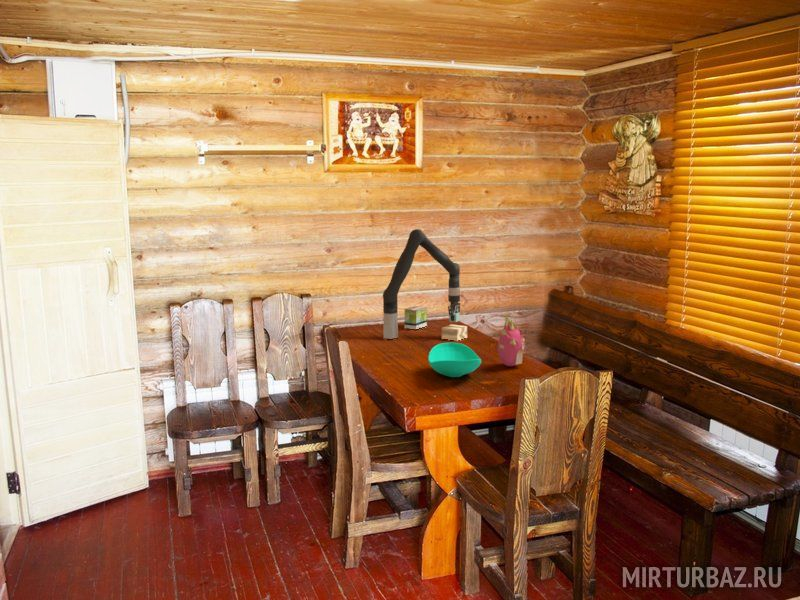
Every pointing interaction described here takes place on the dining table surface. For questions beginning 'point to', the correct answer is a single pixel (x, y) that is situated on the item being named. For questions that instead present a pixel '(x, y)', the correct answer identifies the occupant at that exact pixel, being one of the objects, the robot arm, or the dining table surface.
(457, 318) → the teal cube
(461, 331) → the birch block
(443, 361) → the table top decor
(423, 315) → the tea box
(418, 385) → the dining table surface
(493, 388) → the dining table surface
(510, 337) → the pink dragon fruit
